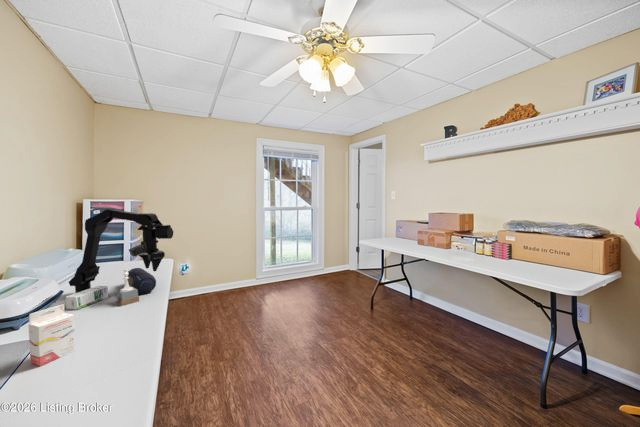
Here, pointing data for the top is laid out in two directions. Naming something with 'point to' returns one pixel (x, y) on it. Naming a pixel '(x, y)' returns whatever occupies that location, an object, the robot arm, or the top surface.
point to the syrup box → (86, 297)
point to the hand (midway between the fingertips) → (151, 269)
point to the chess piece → (126, 283)
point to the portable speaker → (141, 280)
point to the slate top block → (128, 294)
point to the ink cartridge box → (51, 335)
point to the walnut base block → (127, 300)
